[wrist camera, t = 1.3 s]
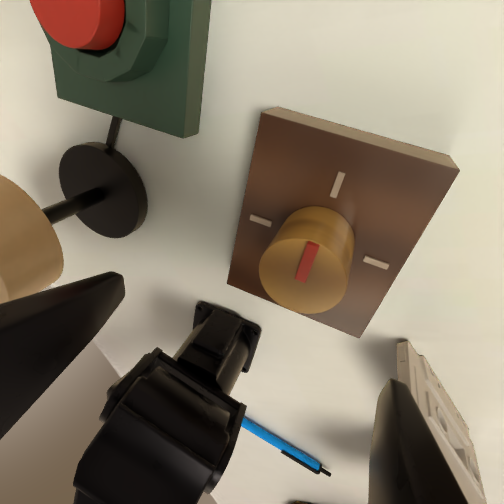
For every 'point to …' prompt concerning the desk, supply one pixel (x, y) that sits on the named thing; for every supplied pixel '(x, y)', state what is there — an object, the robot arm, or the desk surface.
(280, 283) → the dimmer knob
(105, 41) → the button
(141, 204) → the desk lamp
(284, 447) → the pen
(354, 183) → the dimmer panel
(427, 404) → the cassette
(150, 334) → the desk surface
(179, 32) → the switch block
